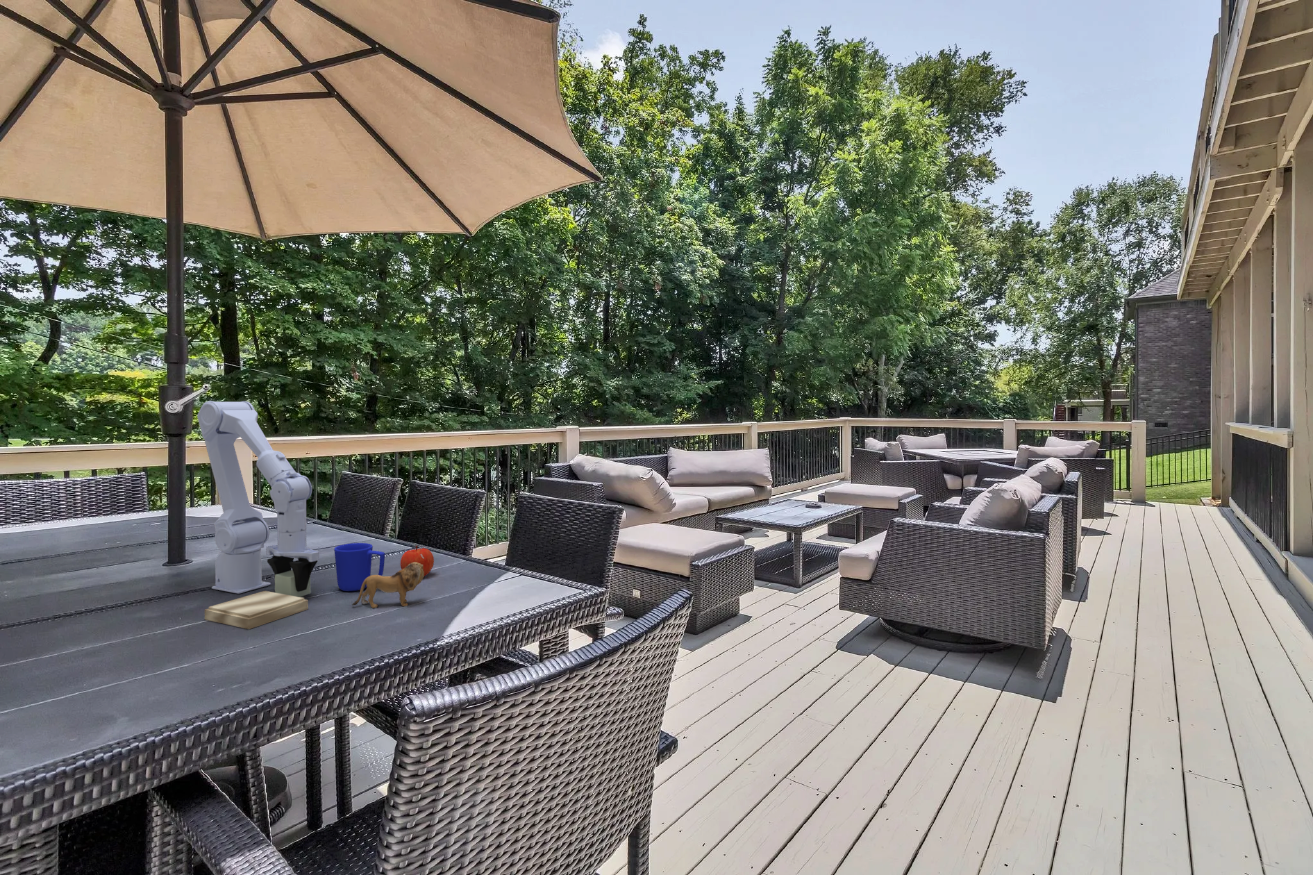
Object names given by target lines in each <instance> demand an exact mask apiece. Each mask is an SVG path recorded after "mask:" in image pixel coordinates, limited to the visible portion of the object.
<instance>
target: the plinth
mask: <svg viewBox="0 0 1313 875" xmlns="http://www.w3.org/2000/svg"><path fill="white" fill-rule="evenodd" d="M307 610H309V600H308V599H305V597H302V596H301V597H296V596H290V595H285V594H280V593H275V591H268V590H263V591H260V592H256V593H253V594H249V595H246V596H241V597H238V598H235V599H231V600H229V601H224V602H221V603H218V604H214V605H210V606H208V608H206V609H204V620H205V621H209V622H214V623H219V624H224V625H228V626H232V627H238V628H240V629H241V628H242V629H245V630H246V629H247V630H251V629H254V628H257V627H260V626H263V625H266V624H269V623H271V622H275V621H277V620H281V619H284V618H287V617H289V616H292V615H296V614H299V613H301V612H304V611H307Z"/></svg>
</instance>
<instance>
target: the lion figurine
mask: <svg viewBox="0 0 1313 875" xmlns="http://www.w3.org/2000/svg"><path fill="white" fill-rule="evenodd" d="M424 577H425V576H424V571H423V565H421V564H420V563H417V562H413V563H410V564H409V565H408V566H407V567H405V568H404V569H401V570H398V571H397V572H396V573H395V574H393V575H388V576H383V575H382V576H380V575H378V574H372V575H370V576H369V577H367V578H366V579H365V580H364V582H363V584H362V587H361V590H359V591H360V592H359V595H358V598H357V599H356V600H354V602H353V603H352V604H351V606H356V605H358V604H359V602H361V604H362V605H367V604H368V603H369V604H370V607H371V608H372V609H377V608H378V606H379V605H378V604H377V603H375V602H374V598H375V595H376V593H377V590H379V591H381V592H383V593H386V594H394V593H398V594H399V596H398V597H399V598H398V600H399V603H400V605H401V606H402V607H408V603H407V601H408V600H407V599H406V598H407V593H408V592H411V591H414V590H415V589H416V588H417V586H418V585H419V584H421V583H422V582H423V580H424ZM365 585H367V587H366V588H364V587H365ZM364 590H365V591H364ZM367 597H368V600H366V598H367Z"/></svg>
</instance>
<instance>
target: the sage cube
mask: <svg viewBox="0 0 1313 875" xmlns="http://www.w3.org/2000/svg"><path fill="white" fill-rule="evenodd" d="M311 591H312V590H311V577H310V578H309V582H308V586H307V589H306V590H303V591H300V592H297V590H296V587H295V577H294V573H293V570H292V569H291V571H287V572H284V573H280V574H276V575H275V574H274V593H280V594H285V595H290V596H296V597H301V598H302V597H304V596H306V595H307V596H308V595H311Z"/></svg>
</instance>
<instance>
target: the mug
mask: <svg viewBox="0 0 1313 875" xmlns="http://www.w3.org/2000/svg"><path fill="white" fill-rule="evenodd" d="M373 547H374V546H373V545H372V544H371V543H366V542H354V543H353V542H351V543H346V544H345V543H344V544H340V545H337V546H335V547H334V549H333V550H334V562H335V571H336V582H337V587H338V588H339V590H341V591H344V592H356V591H360V590H361V587H362V584H363V582H364V580H365V579H366V578H367V577H369V576H371V573H372V571H371V570H372V561H373V560H372V559H373V555H377V556H379V568H378V574H377V575H380V576H383V575H384V570H385V569H384V568H385V560H386V558H385V557H386V553H385V552H384V551H379V550H373ZM364 589H367V585H365V587H364Z"/></svg>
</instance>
